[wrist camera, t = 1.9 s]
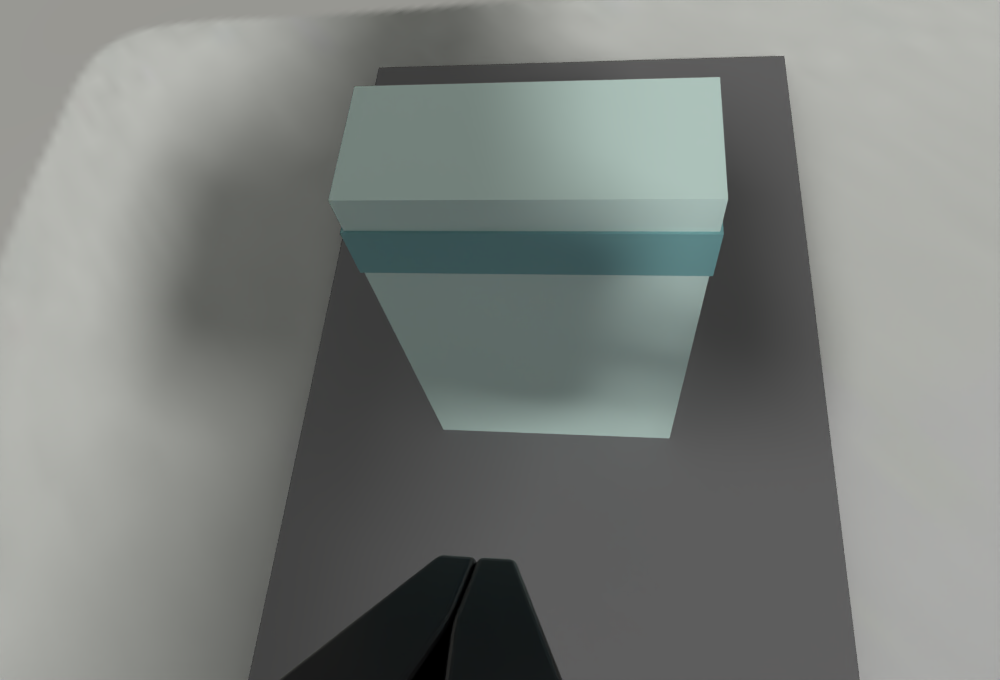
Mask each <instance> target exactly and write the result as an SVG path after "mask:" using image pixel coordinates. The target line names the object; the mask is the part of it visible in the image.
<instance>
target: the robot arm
mask: <svg viewBox="0 0 1000 680" xmlns="http://www.w3.org/2000/svg"><path fill="white" fill-rule="evenodd" d="M279 680H562V677H561V675H560V672H559V669H558V667H557V664H556V662H555V659H554V657H553V654H552V652H551V649H550V647H549V644H548V642H547V639H546V636H545V634H544V631H543V629H542V626H541V624H540V621H539V619H538V616H537V614H536V611H535V609H534V606H533V603H532V601H531V598H530V596H529V593H528V591H527V588H526V586H525V583H524V581H523V578H522V576H521V573H520V570H519V568H518V565H517V564H516V562H515V561H514V560H511V559H498V558H481V559H479V560H478V561H477V562H476V560H475V559H474V558H473V557H465V556H449V555H441V556H439V557H437V558H435V559H434V560H433V561H431V562H430V563H429V564H427V565H426V566H425V567H424V568H422V569H421V570H420V571H418V572H417V573H416V574H414V575H413V576H412V577H411V578H409V579H408V580H407V581H405V582H404V583H403V584H402V585H400V586H399V587H398V588H396V589H395V590H394V591H393V592H391V593H390V594H389V595H387V596H386V597H385V598H384V599H382V600H381V601H380V602H378V603H377V604H376V605H374V606H373V607H372V608H371V609H369V610H368V611H367V612H365V613H364V614H363V615H362V616H360V617H359V618H358V619H356V620H355V621H354V622H353V623H351V624H350V625H349V626H347V627H346V628H345V629H344V630H342V631H341V632H340V633H338V634H337V635H336V636H334V637H333V638H332V639H331V640H329V641H328V642H327V643H325V644H324V645H323V646H322V647H320V648H319V649H318V650H316V651H315V652H314V653H313V654H311V655H310V656H309V657H307V658H306V659H305V660H304V661H302V662H301V663H300V664H298V665H297V666H296V667H294V668H293V669H292V670H291V671H289V672H288V673H287V674H285V675H284V676H283V677H282V678H280V679H279Z"/></svg>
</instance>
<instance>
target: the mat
mask: <svg viewBox="0 0 1000 680" xmlns="http://www.w3.org/2000/svg"><path fill="white" fill-rule="evenodd" d="M703 77H720V84H721V99H722V115H723V130H724V145H725V160H726V175H727V190H728V202H727V206H726V210H725V214H724V218H723V231H724V235H723V239H722V243H721V247H720V251H719V255H718V259H717V263H716V267H715V271H714V274H713V276H709V279H708V283H707V287H706V291H705V295H704V300H703V304H702V308H701V312H700V316H699V320H698V324H697V328H696V332H695V336H694V340H693V344H692V348H691V353H690V357H689V361H688V365H687V369H686V373H685V377H684V381H683V385H682V389H681V393H680V397H679V401H678V406H677V410H676V414H675V418H674V422H673V426H672V430H671V434H670V438H646V437H620V436H595V435H569V434H543V433H518V432H492V431H466V430H443V428H442V426H441V424H440V422H439V420H438V418H437V416H436V414H435V412H434V410H433V408H432V406H431V404H430V402H429V400H428V398H427V396H426V394H425V392H424V390H423V388H422V386H421V384H420V382H419V380H418V378H417V376H416V374H415V372H414V370H413V368H412V366H411V364H410V362H409V360H408V358H407V356H406V354H405V352H404V350H403V348H402V346H401V344H400V342H399V340H398V338H397V336H396V334H395V332H394V330H393V328H392V326H391V324H390V322H389V320H388V318H387V316H386V314H385V312H384V310H383V308H382V306H381V304H380V302H379V300H378V298H377V296H376V294H375V293H374V291H373V289H372V287H371V285H370V283H369V281H368V279H367V277H366V275H365V273H360V271H359V269H358V268H357V266H356V264H355V262H354V260H353V258H352V256H351V254H350V252H349V250H348V248H347V246H346V244H345V242H344V240H343V239H342V243H341V248H340V253H339V258H338V262H337V267H336V272H335V276H334V281H333V286H332V290H331V295H330V300H329V304H328V309H327V314H326V318H325V323H324V328H323V333H322V337H321V342H320V347H319V351H318V356H317V361H316V365H315V370H314V375H313V379H312V384H311V389H310V393H309V398H308V403H307V408H306V412H305V417H304V422H303V426H302V431H301V436H300V440H299V445H298V450H297V454H296V459H295V464H294V468H293V473H292V478H291V483H290V487H289V492H288V497H287V501H286V506H285V511H284V515H283V520H282V525H281V529H280V534H279V539H278V543H277V548H276V553H275V558H274V562H273V567H272V572H271V576H270V581H269V586H268V590H267V595H266V600H265V604H264V609H263V614H262V618H261V623H260V628H259V633H258V637H257V642H256V647H255V651H254V656H253V661H252V665H251V670H250V675H249V679H248V680H279V679H280V678H282V677H283V676H284V675H285V674H287V673H288V672H289V671H291V670H292V669H293V668H294V667H296V666H297V665H298V664H300V663H301V662H302V661H304V660H305V659H306V658H307V657H309V656H310V655H311V654H313V653H314V652H315V651H316V650H318V649H319V648H320V647H322V646H323V645H324V644H325V643H327V642H328V641H329V640H331V639H332V638H333V637H334V636H336V635H337V634H338V633H340V632H341V631H342V630H344V629H345V628H346V627H347V626H349V625H350V624H351V623H353V622H354V621H355V620H356V619H358V618H359V617H360V616H362V615H363V614H364V613H365V612H367V611H368V610H369V609H371V608H372V607H373V606H374V605H376V604H377V603H378V602H380V601H381V600H382V599H384V598H385V597H386V596H387V595H389V594H390V593H391V592H393V591H394V590H395V589H396V588H398V587H399V586H400V585H402V584H403V583H404V582H405V581H407V580H408V579H409V578H411V577H412V576H413V575H414V574H416V573H417V572H418V571H420V570H421V569H422V568H424V567H425V566H426V565H427V564H429V563H430V562H431V561H433V560H434V559H435V558H437V557H439V556H441V555H449V556H465V557H473V558H474V559H475V560H476V562H477V561H478V560H479V559H481V558H498V559H511V560H514V561H515V562H516V564H517V565H518V568H519V570H520V573H521V576H522V578H523V581H524V583H525V586H526V588H527V591H528V593H529V596H530V598H531V601H532V603H533V606H534V609H535V611H536V614H537V616H538V619H539V621H540V624H541V626H542V629H543V631H544V634H545V636H546V639H547V642H548V644H549V647H550V649H551V652H552V654H553V657H554V659H555V662H556V664H557V667H558V669H559V672H560V675H561V677H562V680H860V679H859V671H858V663H857V654H856V646H855V638H854V630H853V621H852V613H851V605H850V596H849V588H848V580H847V572H846V563H845V555H844V547H843V539H842V530H841V522H840V514H839V505H838V497H837V489H836V481H835V472H834V464H833V456H832V448H831V439H830V431H829V423H828V415H827V406H826V398H825V390H824V381H823V373H822V365H821V357H820V348H819V340H818V332H817V324H816V315H815V307H814V299H813V291H812V282H811V274H810V266H809V257H808V249H807V241H806V233H805V224H804V216H803V208H802V200H801V191H800V183H799V175H798V166H797V158H796V150H795V142H794V133H793V125H792V117H791V109H790V100H789V92H788V84H787V76H786V67H785V59H784V56H771V57H736V58H701V59H666V60H631V61H597V62H562V63H527V64H492V65H457V66H422V67H388V68H379V70H378V75H377V79H376V84H375V86H387V85H426V84H466V83H505V82H545V81H584V80H624V79H663V78H703Z"/></svg>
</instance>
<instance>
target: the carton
mask: <svg viewBox="0 0 1000 680" xmlns="http://www.w3.org/2000/svg"><path fill="white" fill-rule="evenodd" d="M328 201H329V203H330V205H331V207H332V209H333V211H334V213H335V215H336V217H337V219H338V221H339V223H340V225H341V231H340V234H341V236H342V238H343V240H344V242H345V244H346V246H347V248H348V250H349V252H350V254H351V256H352V258H353V260H354V262H355V264H356V266H357V268H358V269H359V271H360V273H365V275H366V277H367V279H368V281H369V283H370V285H371V287H372V289H373V291H374V293H375V294H376V296H377V298H378V300H379V302H380V304H381V306H382V308H383V310H384V312H385V314H386V316H387V318H388V320H389V322H390V324H391V326H392V328H393V330H394V332H395V334H396V336H397V338H398V340H399V342H400V344H401V346H402V348H403V350H404V352H405V354H406V356H407V358H408V360H409V362H410V364H411V366H412V368H413V370H414V372H415V374H416V376H417V378H418V380H419V382H420V384H421V386H422V388H423V390H424V392H425V394H426V396H427V398H428V400H429V402H430V404H431V406H432V408H433V410H434V412H435V414H436V416H437V418H438V420H439V422H440V424H441V426H442V428H443V430H466V431H492V432H518V433H543V434H569V435H595V436H620V437H646V438H670V434H671V430H672V426H673V422H674V418H675V414H676V410H677V406H678V401H679V397H680V393H681V389H682V385H683V381H684V377H685V373H686V369H687V365H688V361H689V357H690V353H691V348H692V344H693V340H694V336H695V332H696V328H697V324H698V320H699V316H700V312H701V308H702V304H703V300H704V295H705V291H706V287H707V283H708V279H709V276H713V274H714V271H715V267H716V263H717V259H718V255H719V251H720V247H721V243H722V239H723V235H724V231H723V218H724V214H725V210H726V206H727V202H728V190H727V175H726V160H725V145H724V130H723V115H722V99H721V84H720V77H703V78H663V79H624V80H584V81H545V82H505V83H466V84H426V85H387V86H354V91H353V95H352V99H351V104H350V108H349V112H348V117H347V121H346V125H345V130H344V134H343V138H342V143H341V147H340V151H339V156H338V160H337V165H336V169H335V173H334V178H333V182H332V186H331V191H330V195H329V199H328Z"/></svg>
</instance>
